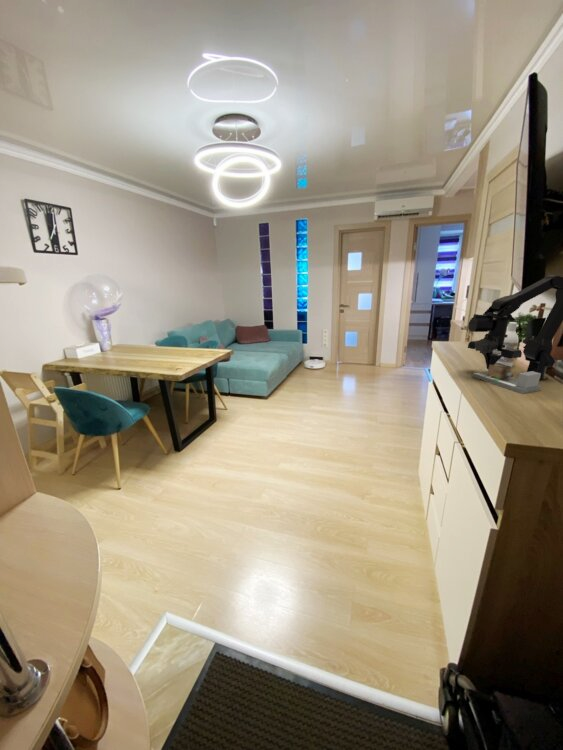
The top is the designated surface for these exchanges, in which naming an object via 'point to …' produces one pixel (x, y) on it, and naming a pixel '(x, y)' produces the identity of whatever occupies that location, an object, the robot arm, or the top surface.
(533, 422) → the top surface
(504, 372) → the gauge carriage
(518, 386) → the gauge rail
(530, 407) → the top surface
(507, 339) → the bath foam
